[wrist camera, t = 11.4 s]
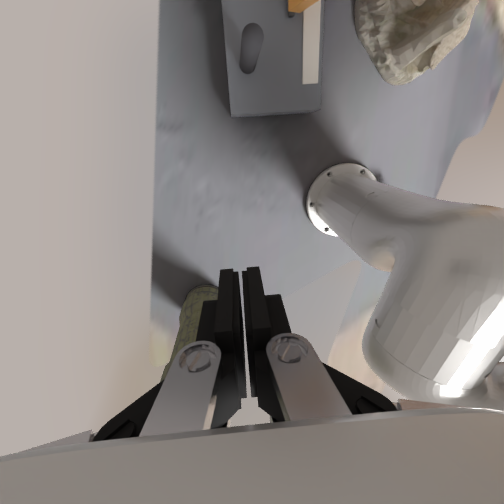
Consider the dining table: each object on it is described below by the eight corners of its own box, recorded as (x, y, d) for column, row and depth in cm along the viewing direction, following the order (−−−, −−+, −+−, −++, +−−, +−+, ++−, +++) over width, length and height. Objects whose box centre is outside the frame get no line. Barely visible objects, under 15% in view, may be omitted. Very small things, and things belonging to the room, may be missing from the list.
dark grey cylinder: (255, 54, 32) (263, 22, 23) (256, 73, 33) (264, 49, 24) (238, 55, 32) (240, 23, 23) (240, 74, 33) (242, 51, 24)
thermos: (185, 326, 55) (118, 590, 23) (183, 277, 50) (95, 523, 18) (228, 327, 56) (220, 583, 24) (229, 278, 51) (222, 516, 19)
